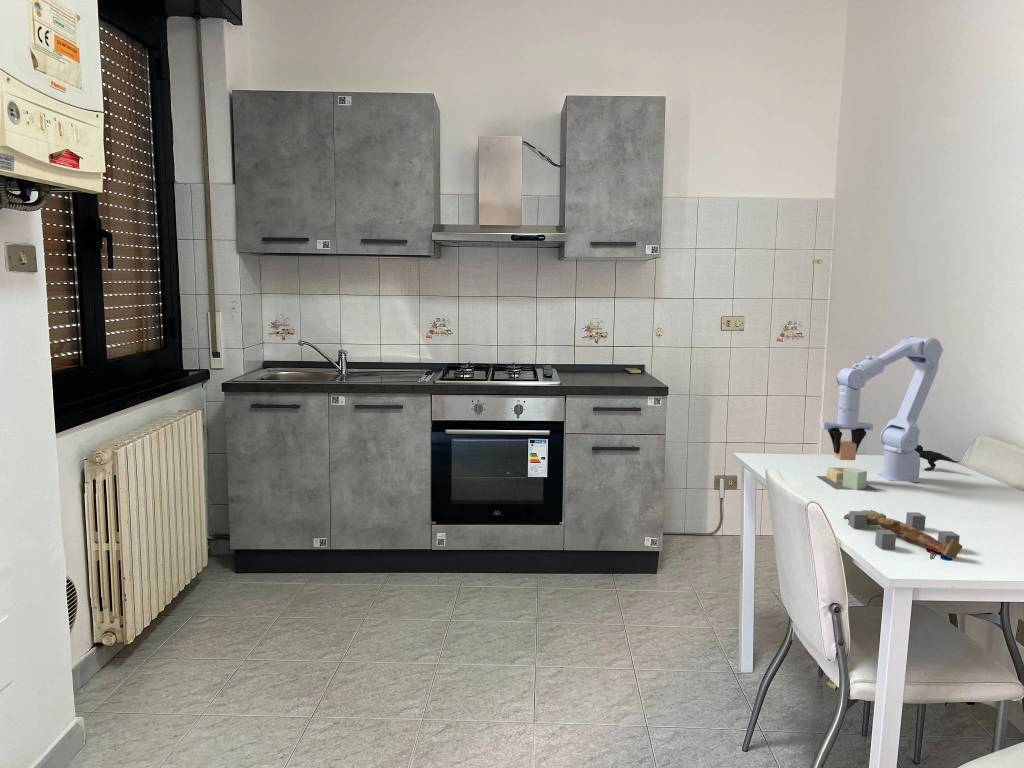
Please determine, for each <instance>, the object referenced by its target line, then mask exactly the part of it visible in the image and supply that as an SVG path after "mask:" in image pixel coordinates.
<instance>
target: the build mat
mask: <svg viewBox="0 0 1024 768" xmlns="http://www.w3.org/2000/svg"><path fill="white" fill-rule="evenodd" d="M815 477H817V478H818V479H819V480H821V481H822V482H823V483H826V484H827V485H828V486H830V487H831V488H833V489H835V490H847V491H848V490H849V491H851V490H855V489H851V488H848V487H844V486H842V484H843V483H835V482H834V481H832V480H831V479H829V478H828V477H827V475H815ZM858 490H859V491H878V489H876V488H875V487H873V486H871V485H870V484H868V483H866V488H863V489H858ZM858 490H857V491H858ZM855 491H856V490H855Z"/></svg>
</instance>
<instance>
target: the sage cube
mask: <svg viewBox="0 0 1024 768" xmlns="http://www.w3.org/2000/svg"><path fill="white" fill-rule="evenodd" d="M848 468H849V469H844V471H843V484H842V486H844V487H848V488H851V489H855V491H858V489H863V488H866V484H867V480H868V479H867V477H868V470H865V469H859V468H856V467H848Z"/></svg>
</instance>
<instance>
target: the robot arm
mask: <svg viewBox="0 0 1024 768" xmlns="http://www.w3.org/2000/svg"><path fill="white" fill-rule="evenodd" d="M943 351H944V348H943V346H942V344H941V342H940V341H939V339H937V338H935V337H922V336H921V337H920V336H914V335H910V336H906V337H905V338H903V339H900V341H899V343H897V344H896V345H894V346H893V347H890V348H889V349H888V350H887V351H885V352H883V353H881V354H880V355H879V356H876V355H871V356H870V355H866V357H865V356H864V359H863V360H862V361H859V362H858V363H853V364H852V366H851V367H844V368H842V369H841V370H840V371H839V372H838V373H837V376H835V382H836V384H837V385H838V391H839V392H838V394H839V395H838V405H837V407H838V408H837V420H835V421H822V422H821V430H822V429H823V430H827V432H828V434H829V436H830V439H831V443H832V447H833V448H832V449H833V453H834V452H835V453H836V454H839V451H840V441H842V436H843V432H842V431H841V430H850V433H851V441H852V442H854V443H856V444H857V445H856V454H857V452H858V449H859V446H860V445H861V443H862V442H863V440H864V438H865V437H866V436H867V431H873V430H874V424H873V423H871V422H859V417H860V416H859V415H860V401H861V391H862V390H861V389H862V388H864V387H865V386H866V383H867V382H868V381H869V380H871V379H873V378H875V377H876V376H878V375H880V374H882V373H883V372H884V370H885V367H887V366H888V365H890V364H893V363H895V362H896V361H899V360H901V359H904V358H907V359H908V360H909V362H910V363H911V364H912V365H913V366H914V369H915V371H914V374H913V377H912V379H911V380H910V381H911V382H910V383H909V386H908V389H907V390H906V394H905V396H904V399H903V400H902V403H901V405H900V407H899V410H898V412H897V415H896V417H894V418H893V419H890V420H889V421H888V422H887V424H886V426H885V427H884V428H883V429H882V430H881V432H880V435H879V439H880V440H879V441H880V442H881V444H882V445H883V447H882V448H883V449H884V456H883V467H882V473H877V474H876V475H877V476H879V477H880V478H882V479H884V480H887V481H889V482H909V483H920V482H921V480H920V469H921V458H920V456H919V453H918V452H916V451H914V450H915V449H916V447H917V445H919V437H920V434H921V430H920V428H919V426H918V425H917V421H918V418H919V417H920V414H921V412H922V409H923V407H924V404H925V402H926V400H927V397H928V395H929V392H930V391H931V387H932V385H933V384H934V380H935V378H936V375H937V373H938V370H939V362H940V360H941V359H940V358H941V356H942V354H943Z"/></svg>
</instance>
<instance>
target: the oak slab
mask: <svg viewBox="0 0 1024 768" xmlns="http://www.w3.org/2000/svg"><path fill="white" fill-rule="evenodd" d="M849 468H850V467H827V468H826V476H827V477H828V478H829V479H831V480H832V481H834V482H835V483H843V471H844V469H849Z"/></svg>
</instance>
